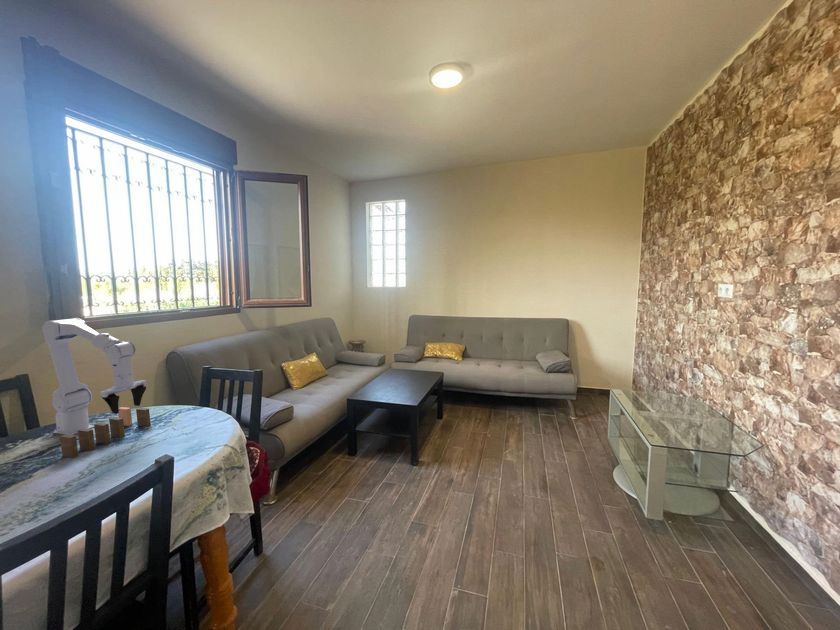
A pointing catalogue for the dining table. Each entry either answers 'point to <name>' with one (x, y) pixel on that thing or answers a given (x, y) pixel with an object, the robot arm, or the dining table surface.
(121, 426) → the domino
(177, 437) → the dining table surface
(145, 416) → the domino
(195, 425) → the dining table surface
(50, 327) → the robot arm
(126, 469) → the dining table surface
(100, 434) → the domino
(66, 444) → the domino
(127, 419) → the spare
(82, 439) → the domino
